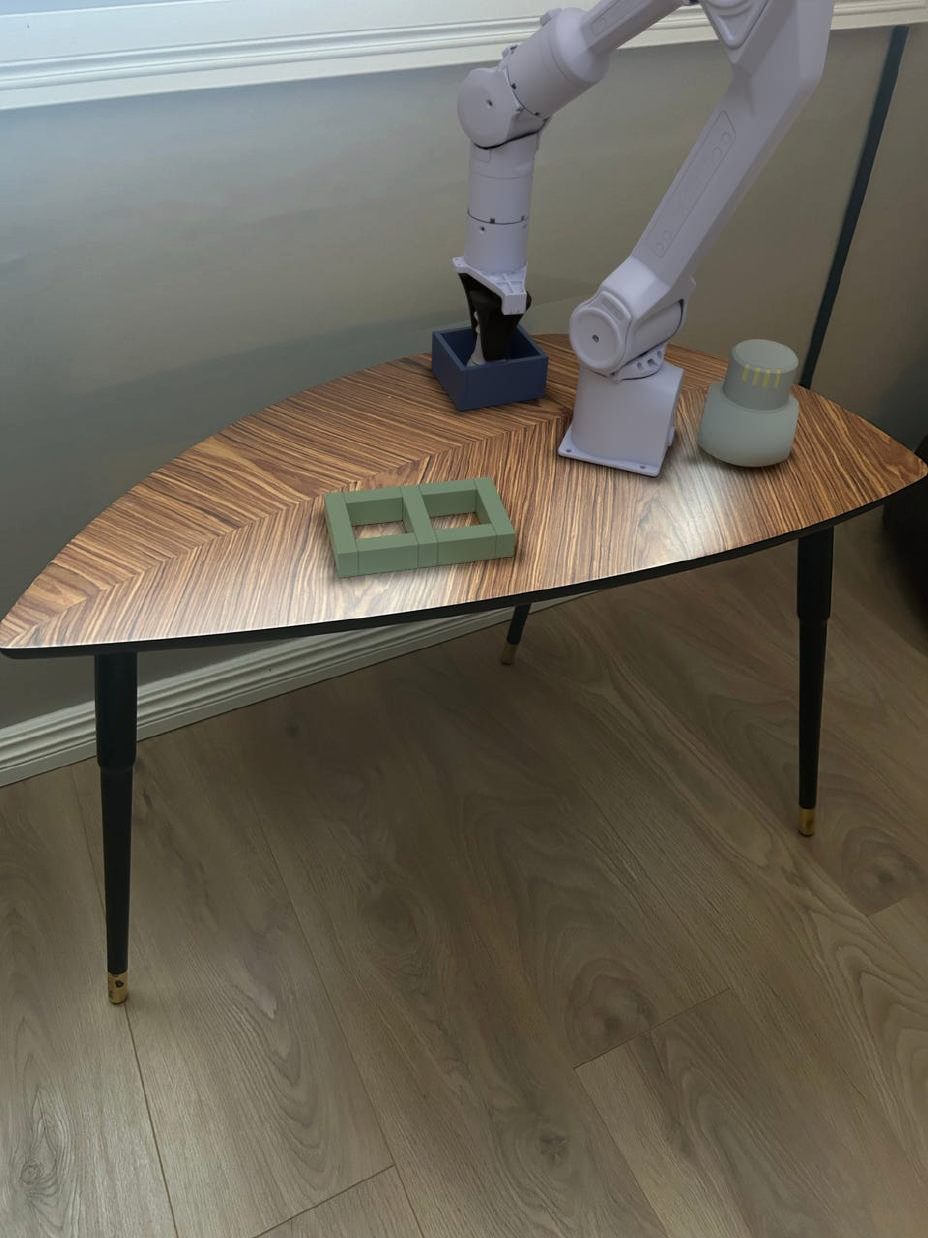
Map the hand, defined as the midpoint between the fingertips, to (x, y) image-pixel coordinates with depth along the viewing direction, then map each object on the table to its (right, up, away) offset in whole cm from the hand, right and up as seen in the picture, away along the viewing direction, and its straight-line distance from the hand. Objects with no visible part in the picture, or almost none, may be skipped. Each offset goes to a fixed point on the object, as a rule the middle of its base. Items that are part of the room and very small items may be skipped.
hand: (489, 349), depth 100 cm
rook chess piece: (0, -3, +2) cm, 4 cm away
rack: (-6, -20, -16) cm, 26 cm away
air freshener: (+24, -11, -4) cm, 26 cm away
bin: (0, -3, +3) cm, 4 cm away
